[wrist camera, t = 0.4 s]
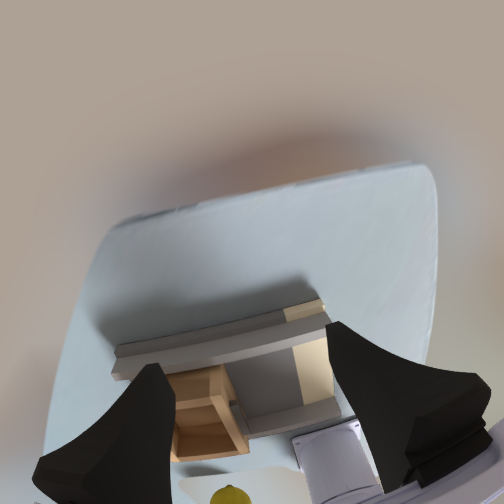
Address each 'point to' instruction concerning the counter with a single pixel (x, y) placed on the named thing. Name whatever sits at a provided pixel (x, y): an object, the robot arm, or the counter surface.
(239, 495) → the lemon
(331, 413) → the bay
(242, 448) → the crate
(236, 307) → the counter surface
